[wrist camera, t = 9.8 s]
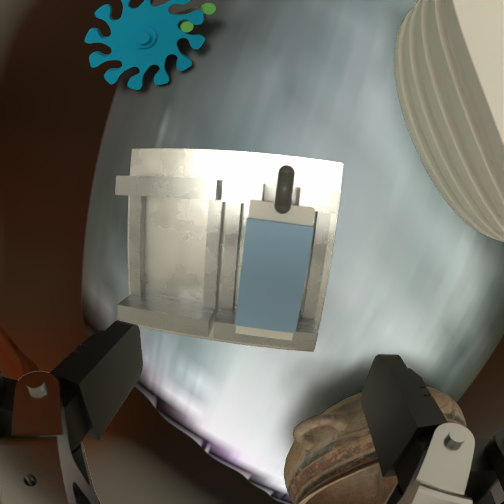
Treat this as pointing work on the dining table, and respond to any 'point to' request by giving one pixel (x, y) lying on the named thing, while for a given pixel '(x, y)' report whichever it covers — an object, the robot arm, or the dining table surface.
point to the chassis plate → (215, 238)
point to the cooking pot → (344, 455)
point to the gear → (147, 38)
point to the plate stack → (457, 102)
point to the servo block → (274, 263)
